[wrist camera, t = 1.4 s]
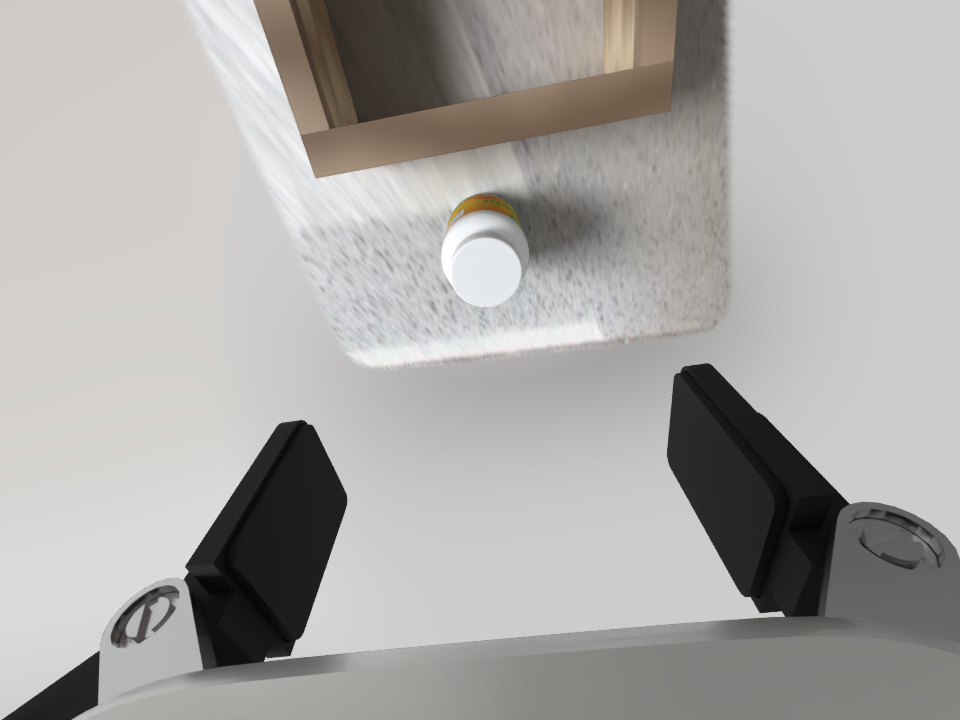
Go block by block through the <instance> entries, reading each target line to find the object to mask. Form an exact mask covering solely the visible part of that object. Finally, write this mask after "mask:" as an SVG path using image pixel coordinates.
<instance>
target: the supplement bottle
mask: <svg viewBox="0 0 960 720" xmlns="http://www.w3.org/2000/svg"><path fill="white" fill-rule="evenodd" d="M441 259H442V266H443V270H444V272H445V275H446V277H447V278H448V280H449V281H450V283H451V284H452V285H453V287H454V289H455V291H456V292H457V294H458V295H459V296H460V297H461V298H462V299H463V300H465V301H466V302H468V303H470V304H472V305H475V306H478V307H494V306H497V305H500V304H502V303H504V302H506V301H507V300H509V299H510V298H511V297H512V296H513V295H514V294H515V292H516V291H517V289H518V287H519V285H520V283H521V280H522V279H523V277H524V275H525V273H526V271H527V267H528V263H529V247H528V243H527V240H526V237H525V234H524V232H523V230H522V227H521V224H520V221H519V219H518V216H517V214H516V212H515V211H514V209H513V208H512V206H511V205H510V204H509V203H508V202H507V201H505V200H504V199H502V198H501V197H499V196H496V195H493V194H487V193H482V194H476V195H472V196H470V197H468V198H466V199H465V200H463V201H462V202H461V203H460V204H459V205H458V206H457V207H456V208H455V210H454V211H453V213H452V215H451V217H450V219H449V222H448V226H447V230H446V234H445V237H444V241H443V245H442V253H441Z"/></svg>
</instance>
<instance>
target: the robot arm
mask: <svg viewBox="0 0 960 720" xmlns="http://www.w3.org/2000/svg"><path fill="white" fill-rule="evenodd" d="M667 458H668V462H669V465H670V468H671V470H672V471H673V473H674V475H675V477H676V479H677V480H678V482H679V484H680V486H681V488H682V489H683V491H684V493H685V495H686V497H687V498H688V500H689V502H690V504H691V506H692V507H693V509H694V511H695V513H696V514H697V516H698V518H699V520H700V522H701V524H702V525H703V527H704V529H705V531H706V533H707V534H708V536H709V538H710V540H711V541H712V543H713V545H714V547H715V549H716V550H717V552H718V554H719V556H720V558H721V559H722V561H723V563H724V565H725V566H726V568H727V570H728V572H729V574H730V576H731V577H732V579H733V581H734V583H735V585H736V586H737V588H738V590H739V591H740V593H741V594H742V595H743V596H745V597H751V599H752V600H753V602H754V604H755V605H756V607H757V609H758V611H759V612H760V613H768V612H778V611H782V612H783V614H784V615H785V617H768V618H754V619H738V620H723V621H709V622H694V623H680V624H669V625H656V626H645V627H633V628H621V629H610V630H598V631H587V632H576V633H563V634H551V635H540V636H529V637H518V638H507V639H496V640H484V641H473V642H463V643H452V644H441V645H430V646H419V647H408V648H398V649H387V650H377V651H367V652H357V653H346V654H336V655H325V656H315V657H304V658H294V659H285V660H276V661H268V662H264V660H265V657H267V658H274V657H285V656H290V655H291V652H292V649H293V646H294V644H295V641H296V639H299V638H300V637H301V636H302V634H303V633H304V630H305V627H306V624H307V621H308V619H309V616H310V613H311V610H312V607H313V603H314V601H315V598H316V595H317V592H318V589H319V586H320V583H321V580H322V577H323V574H324V571H325V569H326V566H327V563H328V560H329V557H330V554H331V551H332V548H333V545H334V542H335V539H336V536H337V533H338V530H339V527H340V524H341V521H342V519H343V516H344V513H345V509H346V506H347V495H346V492H345V490H344V488H343V486H342V484H341V482H340V480H339V478H338V475H337V473H336V471H335V469H334V467H333V465H332V463H331V461H330V459H329V457H328V455H327V453H326V451H325V449H324V447H323V445H322V443H321V441H320V438H319V436H318V434H317V432H316V430H315V428H314V427H313V426H312V425H308V424H307V423H306V422H305V421H303V420H299V421H292V422H285V423H281V424H279V425H278V426H277V427H276V429H275V430H274V432H273V433H272V435H271V436H270V438H269V440H268V441H267V443H266V444H265V446H264V447H263V449H262V450H261V452H260V453H259V455H258V456H257V458H256V459H255V461H254V462H253V464H252V465H251V467H250V469H249V470H248V472H247V473H246V475H245V476H244V478H243V479H242V481H241V482H240V484H239V485H238V487H237V488H236V490H235V491H234V493H233V494H232V496H231V497H230V499H229V501H228V502H227V504H226V505H225V507H224V508H223V510H222V511H221V513H220V514H219V516H218V517H217V519H216V520H215V522H214V523H213V525H212V526H211V528H210V529H209V531H208V533H207V534H206V535H205V537H204V538H203V540H202V542H201V543H200V545H199V546H198V548H197V549H196V551H195V552H194V554H193V555H192V557H191V558H190V560H189V561H188V563H187V564H186V566H185V567H186V568H187V570H188V571H189V572H188V574H187V576H186V577H185V579H184V580H181V579H179V578H168V579H164V580H161V581H158V582H156V583H154V584H152V585H150V586H148V587H146V588H144V589H143V590H141V591H140V592H139V593H137V594H136V595H134V596H133V597H132V598H131V599H129V600H128V601H127V602H126V603H125V604H124V605H123V606H122V607H121V608H120V609H119V610H118V611H117V613H116V614H115V615H114V616H113V618H112V619H111V620H110V622H109V623H108V625H107V627H106V629H105V631H104V633H103V635H102V639H101V643H100V651H99V652H97V653H95V654H94V655H93V656H91V657H90V658H88V659H87V660H86V661H84V662H83V663H81V664H80V665H79V666H77V667H76V668H74V669H73V670H72V671H70V672H69V673H67V674H66V675H64V676H63V677H62V678H60V679H59V680H57V681H56V682H55V683H53V684H52V685H50V686H49V687H47V688H46V689H45V690H43V691H42V692H40V693H39V694H38V695H36V696H35V697H33V698H32V699H30V700H29V701H28V702H26V703H25V704H23V705H22V706H21V707H19V708H18V709H16V710H15V711H14V712H12V713H11V714H9V715H8V716H7V717H5V718H4V719H2V720H960V558H959V556H958V553H957V550H956V548H955V547H954V546H953V545H952V544H951V542H950V541H949V540H948V538H947V537H946V536H945V535H944V534H943V533H941V532H940V531H939V530H938V529H936V528H935V527H934V526H932V525H931V524H930V523H928V522H926V521H925V520H923V519H921V518H919V517H917V516H916V515H914V514H912V513H909V512H907V511H904V510H902V509H899V508H897V507H894V506H889V505H885V504H881V503H874V502H859V503H853V504H849V503H848V502H847V501H846V500H845V499H844V498H843V497H842V496H841V495H840V494H839V493H838V491H837V490H836V489H834V487H833V486H832V485H831V484H829V482H828V481H827V480H826V479H825V478H824V477H823V476H822V475H821V474H820V473H819V472H818V471H817V470H816V469H815V468H814V467H813V466H812V465H811V464H810V463H809V462H808V461H807V460H806V459H805V458H804V457H803V455H801V453H800V452H799V451H798V450H797V449H796V448H795V447H794V446H793V445H792V444H791V443H790V442H789V441H788V440H787V439H786V438H785V437H784V436H783V435H782V434H781V433H780V432H779V431H778V430H777V429H776V428H775V427H774V426H773V425H772V424H771V423H770V422H769V421H768V419H767V418H766V417H764V416H763V415H762V414H760V413H757V412H756V411H755V410H754V409H753V408H752V406H751V405H750V404H749V403H748V402H747V401H746V400H745V399H744V398H743V397H742V396H741V395H740V394H739V393H738V392H737V391H736V390H735V389H734V388H733V387H732V386H731V385H730V384H729V383H728V382H727V381H726V379H725V378H724V377H723V376H722V375H721V374H720V373H719V372H718V371H717V370H716V369H715V368H714V367H713V366H712V365H711V364H708V363H707V364H699V365H691V366H685V367H683V368H682V370H681V373H677V374H676V375H675V376H674V383H673V394H672V406H671V415H670V427H669V437H668V448H667Z"/></svg>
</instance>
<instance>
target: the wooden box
mask: <svg viewBox="0 0 960 720" xmlns="http://www.w3.org/2000/svg"><path fill="white" fill-rule="evenodd" d="M253 1H254V4H255V7H256V9H257V12H258V15H259V18H260V21H261V24H262V27H263V29H264V32H265V35H266V38H267V41H268V44H269V47H270V49H271V52H272V55H273V58H274V61H275V64H276V67H277V69H278V72H279V75H280V78H281V81H282V84H283V87H284V90H285V92H286V95H287V98H288V101H289V104H290V107H291V110H292V112H293V115H294V118H295V121H296V124H297V127H298V130H299V132H300V135H301V138H302V141H303V144H304V147H305V150H306V152H307V155H308V158H309V161H310V164H311V167H312V170H313V173H314V175H315V178H321V177H326V176H332V175H337V174H342V173H347V172H353V171H358V170H363V169H368V168H374V167H379V166H384V165H389V164H395V163H400V162H405V161H410V160H415V159H421V158H426V157H431V156H436V155H442V154H447V153H452V152H457V151H463V150H468V149H473V148H478V147H484V146H489V145H494V144H499V143H505V142H510V141H515V140H520V139H526V138H531V137H536V136H541V135H547V134H552V133H557V132H562V131H568V130H573V129H578V128H583V127H589V126H594V125H599V124H604V123H609V122H615V121H620V120H625V119H630V118H636V117H641V116H646V115H651V114H657V113H662V112H667V111H671V95H672V80H673V65H674V50H675V34H676V19H677V4H678V0H604V74H603V75H598V76H593V77H588V78H583V79H578V80H573V81H568V82H563V83H558V84H553V85H548V86H543V87H538V88H533V89H528V90H523V91H518V92H513V93H508V94H503V95H498V96H493V97H488V98H483V99H478V100H473V101H468V102H463V103H458V104H453V105H448V106H443V107H438V108H433V109H428V110H423V111H418V112H413V113H408V114H403V115H398V116H393V117H388V118H383V119H378V120H373V121H368V122H363V123H359V122H358V119H357V115H356V112H355V108H354V104H353V101H352V97H351V94H350V90H349V87H348V83H347V79H346V76H345V72H344V69H343V65H342V62H341V58H340V54H339V51H338V47H337V44H336V40H335V37H334V33H333V29H332V26H331V22H330V19H329V15H328V12H327V8H326V4H325V1H324V0H253Z"/></svg>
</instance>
